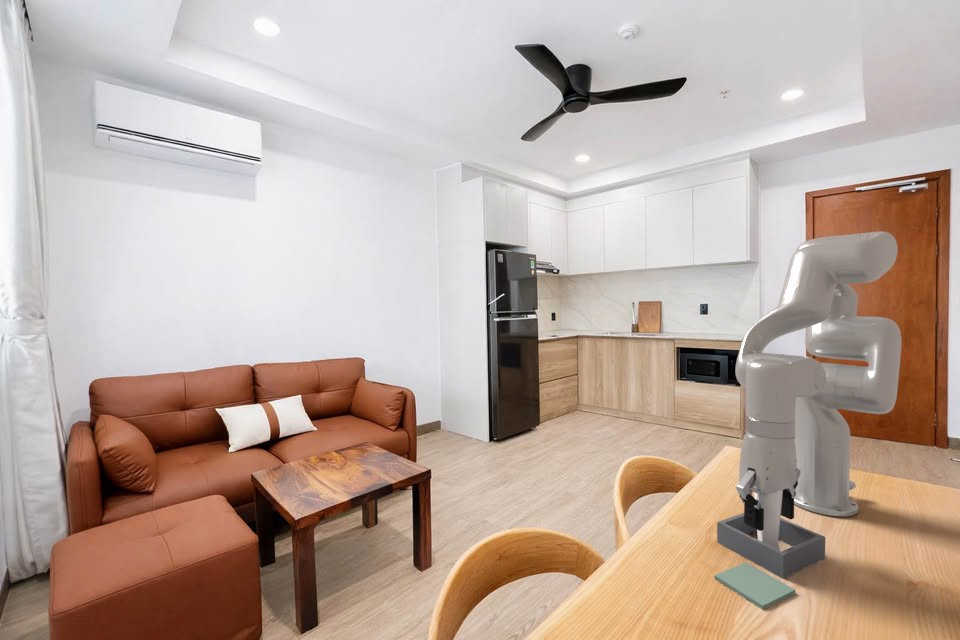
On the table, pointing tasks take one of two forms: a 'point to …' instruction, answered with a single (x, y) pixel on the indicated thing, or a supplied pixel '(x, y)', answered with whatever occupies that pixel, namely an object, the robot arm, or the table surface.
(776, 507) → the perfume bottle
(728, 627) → the table surface
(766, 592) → the mat
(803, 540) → the bin
